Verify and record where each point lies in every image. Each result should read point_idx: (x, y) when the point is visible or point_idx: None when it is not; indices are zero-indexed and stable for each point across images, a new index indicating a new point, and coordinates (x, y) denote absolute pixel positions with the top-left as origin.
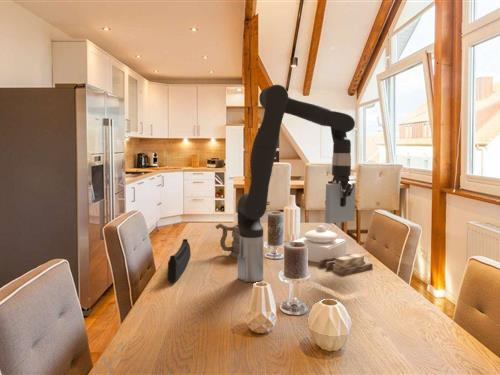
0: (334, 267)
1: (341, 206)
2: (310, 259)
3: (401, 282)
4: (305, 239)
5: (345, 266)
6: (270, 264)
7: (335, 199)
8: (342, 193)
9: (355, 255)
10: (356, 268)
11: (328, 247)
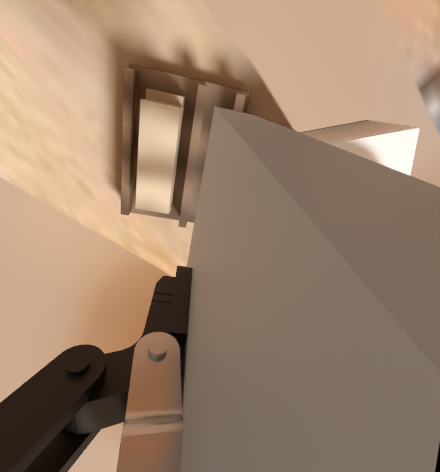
0: (177, 95)
1: (180, 266)
2: (306, 134)
3: (19, 186)
4: None
5: None
6: (421, 2)
7: (203, 248)
8: (133, 393)
9: (157, 194)
10: (123, 144)
11: None
